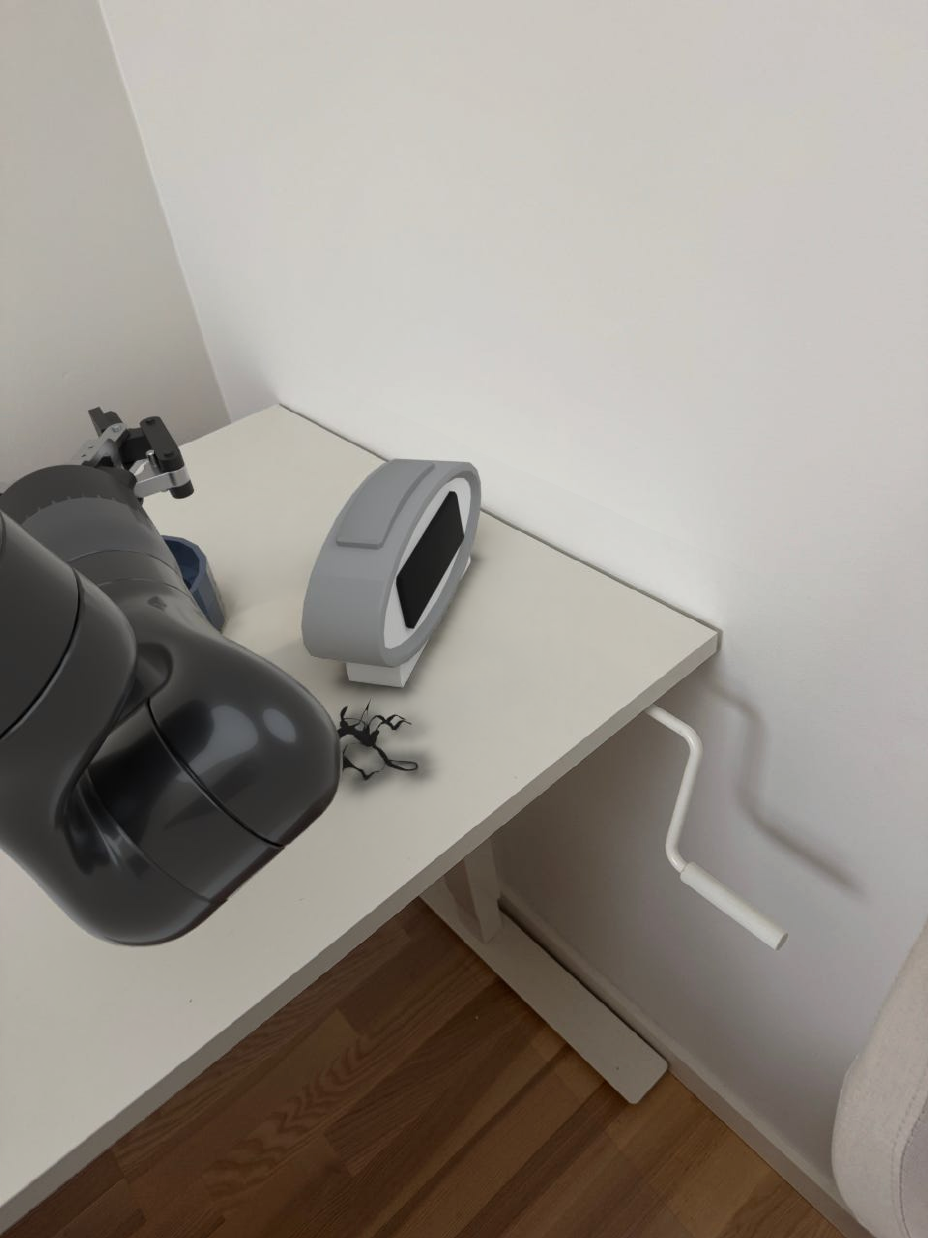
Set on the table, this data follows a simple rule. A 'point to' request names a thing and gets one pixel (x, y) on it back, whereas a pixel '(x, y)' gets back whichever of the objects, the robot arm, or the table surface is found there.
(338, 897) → the table surface
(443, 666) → the table surface
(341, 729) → the creature
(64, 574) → the robot arm
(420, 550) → the alarm clock
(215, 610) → the bowl
